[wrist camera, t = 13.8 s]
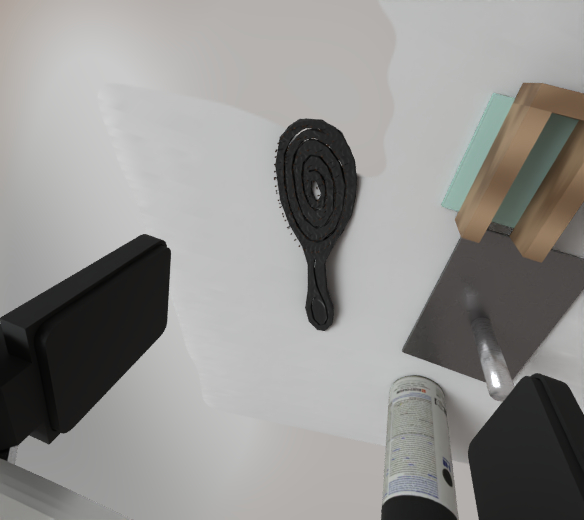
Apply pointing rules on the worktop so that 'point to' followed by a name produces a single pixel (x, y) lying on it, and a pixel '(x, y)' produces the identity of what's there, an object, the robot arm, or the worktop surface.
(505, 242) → the stand
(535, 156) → the mat
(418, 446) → the spray can
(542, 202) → the arch block
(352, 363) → the worktop surface
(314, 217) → the hairbrush
